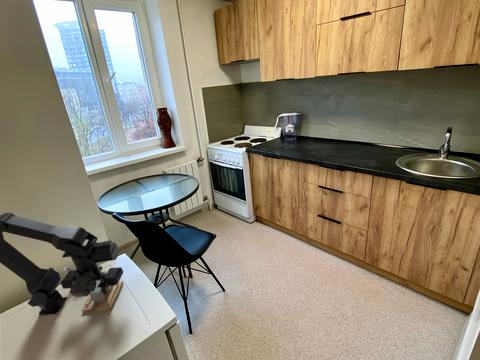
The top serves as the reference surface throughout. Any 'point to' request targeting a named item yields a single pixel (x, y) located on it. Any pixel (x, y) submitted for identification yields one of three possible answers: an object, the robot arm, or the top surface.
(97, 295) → the plug block
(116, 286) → the wooden slotted rack
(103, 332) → the top surface
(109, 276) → the robot arm
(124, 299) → the top surface
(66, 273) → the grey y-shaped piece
